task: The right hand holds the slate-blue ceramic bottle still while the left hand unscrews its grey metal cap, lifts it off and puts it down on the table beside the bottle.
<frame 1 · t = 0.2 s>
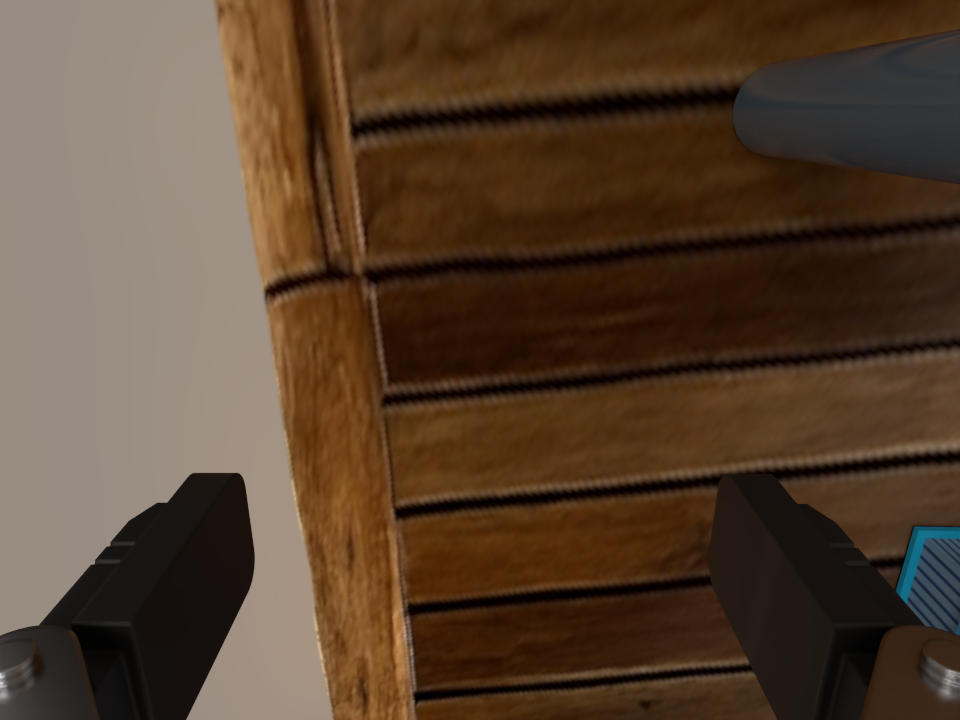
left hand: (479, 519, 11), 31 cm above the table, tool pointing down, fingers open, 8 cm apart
bottle: (777, 109, 38), on the table
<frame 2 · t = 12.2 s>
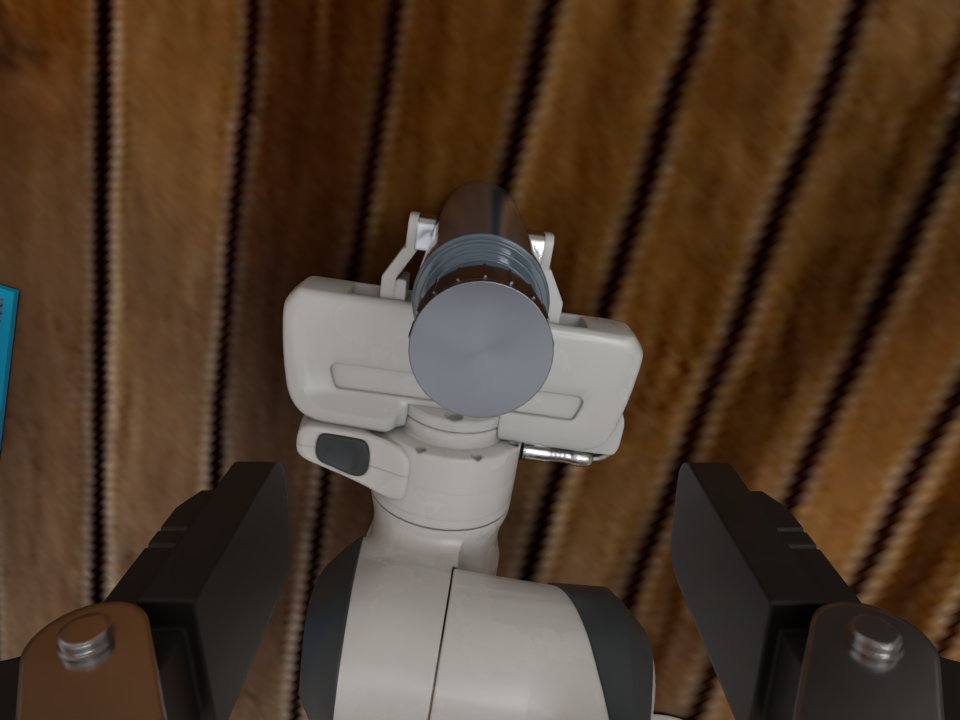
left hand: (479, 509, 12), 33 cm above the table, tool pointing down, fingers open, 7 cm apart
right hand: (481, 223, 36), fingers closed on bottle, 5 cm apart
bottle: (480, 221, 43), on the table, touching right hand
cap: (481, 348, 20), point 25 cm above the table, screwed on, not yet turned
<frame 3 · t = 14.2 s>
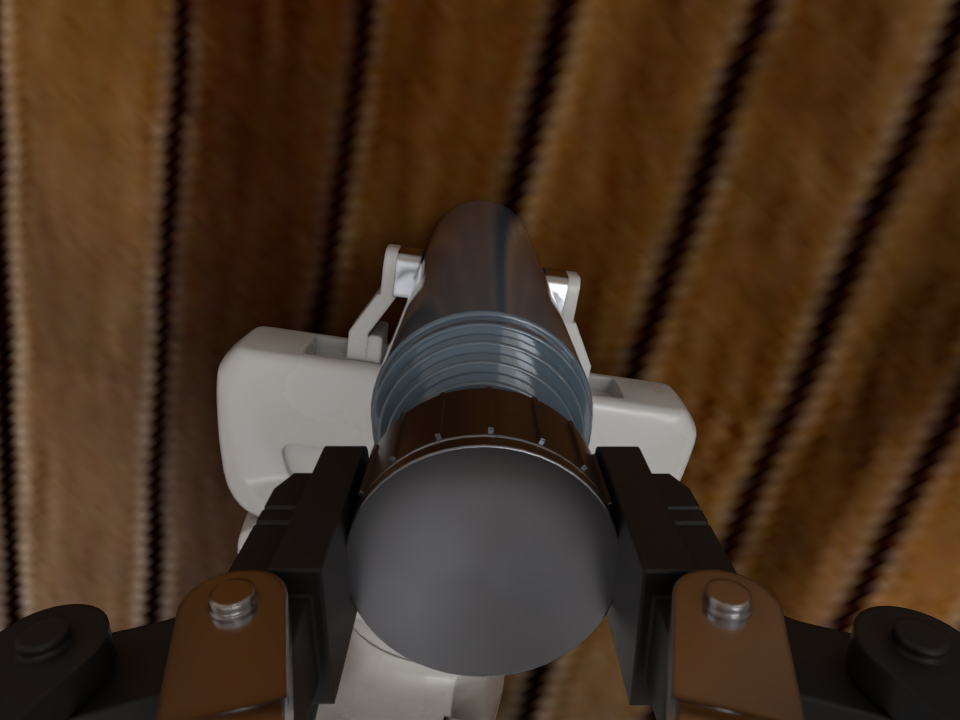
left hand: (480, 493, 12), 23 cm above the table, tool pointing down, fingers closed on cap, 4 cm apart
bottle: (480, 251, 33), on the table, touching right hand
cap: (482, 557, 10), point 25 cm above the table, screwed on, not yet turned, touching left hand
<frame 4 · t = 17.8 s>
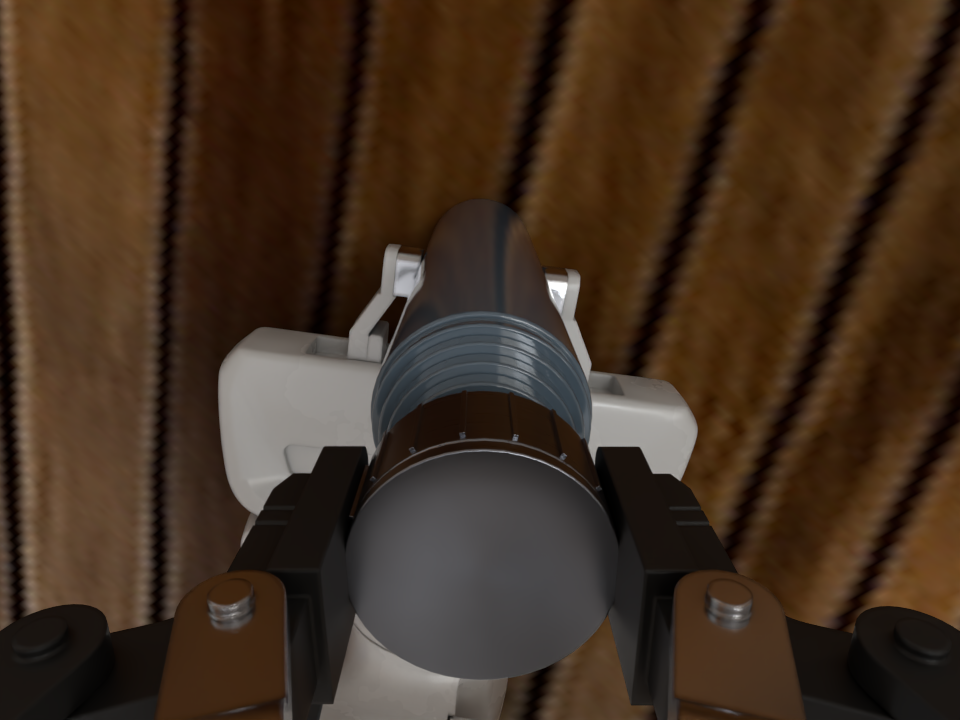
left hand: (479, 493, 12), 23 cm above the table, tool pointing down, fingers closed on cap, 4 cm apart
bottle: (480, 249, 33), on the table, touching right hand
cap: (482, 561, 10), point 25 cm above the table, turned 74° so far, risen 0.1 cm, still on its thread, touching left hand
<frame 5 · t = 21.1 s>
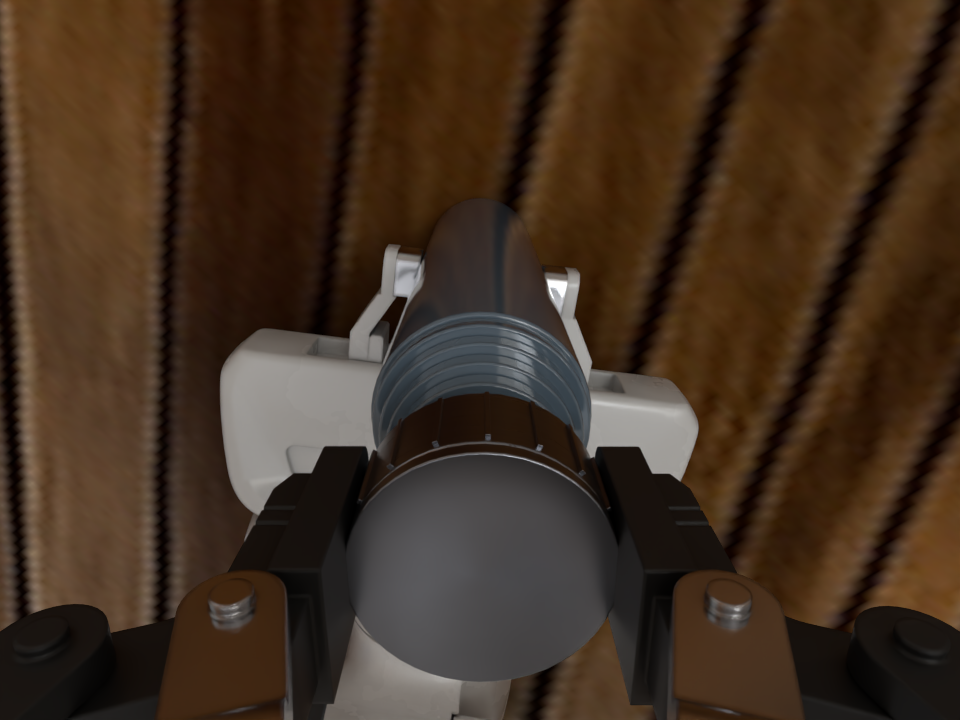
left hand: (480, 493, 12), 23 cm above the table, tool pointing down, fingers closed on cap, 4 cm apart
bottle: (480, 249, 34), on the table, touching right hand
cap: (482, 563, 10), point 25 cm above the table, turned 148° so far, risen 0.1 cm, still on its thread, touching left hand
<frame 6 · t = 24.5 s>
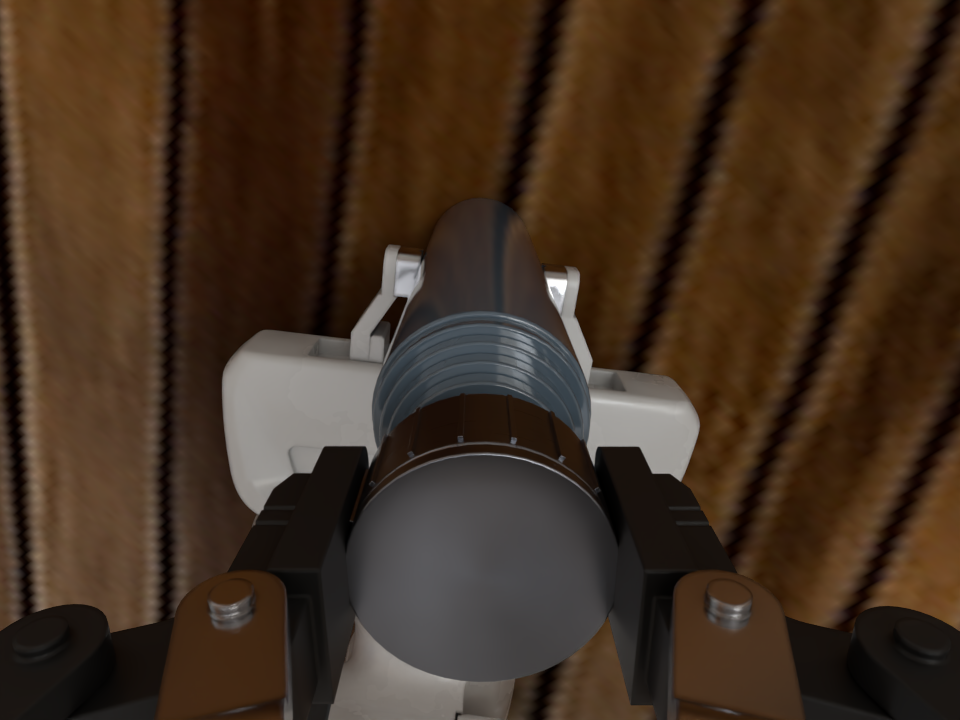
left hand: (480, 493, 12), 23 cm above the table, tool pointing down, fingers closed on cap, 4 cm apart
bottle: (480, 248, 34), on the table, touching right hand
cap: (482, 563, 10), point 25 cm above the table, turned 222° so far, risen 0.2 cm, still on its thread, touching left hand
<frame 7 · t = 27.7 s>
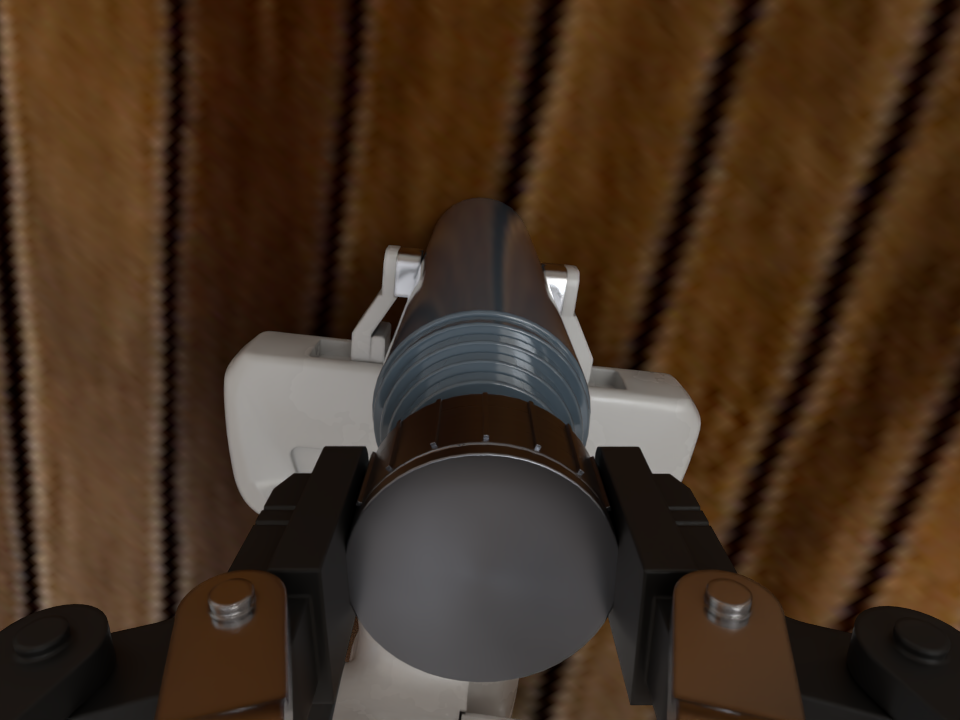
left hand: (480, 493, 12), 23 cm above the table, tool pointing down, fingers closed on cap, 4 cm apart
bottle: (480, 248, 34), on the table, touching right hand
cap: (482, 564, 10), point 25 cm above the table, turned 296° so far, risen 0.3 cm, still on its thread, touching left hand
when the left hand's fingers open (1 cm above the table, at t = 39.1 s): cap drops 1 cm, point 2 cm above the table.
when the right hand's fingers open (6 cm above the table, at t = 40.3 s): bottle stays where it is, on the table.
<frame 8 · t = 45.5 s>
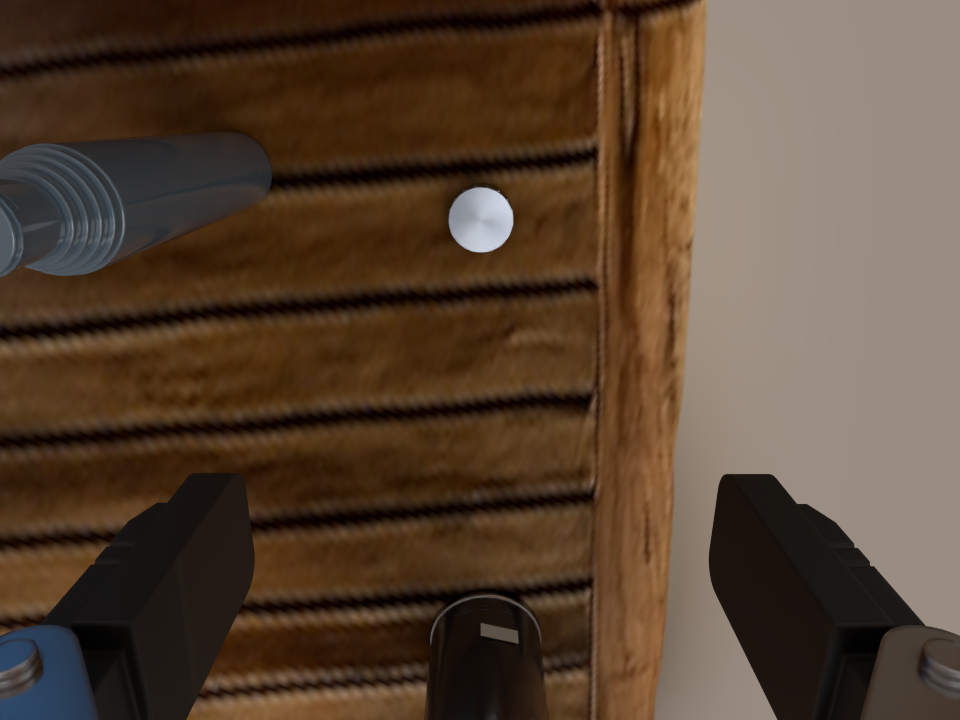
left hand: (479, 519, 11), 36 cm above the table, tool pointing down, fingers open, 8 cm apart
bottle: (234, 171, 44), on the table
cap: (480, 219, 43), point 2 cm above the table, off its thread
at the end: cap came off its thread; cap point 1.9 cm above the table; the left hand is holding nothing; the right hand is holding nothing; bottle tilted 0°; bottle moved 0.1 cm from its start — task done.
